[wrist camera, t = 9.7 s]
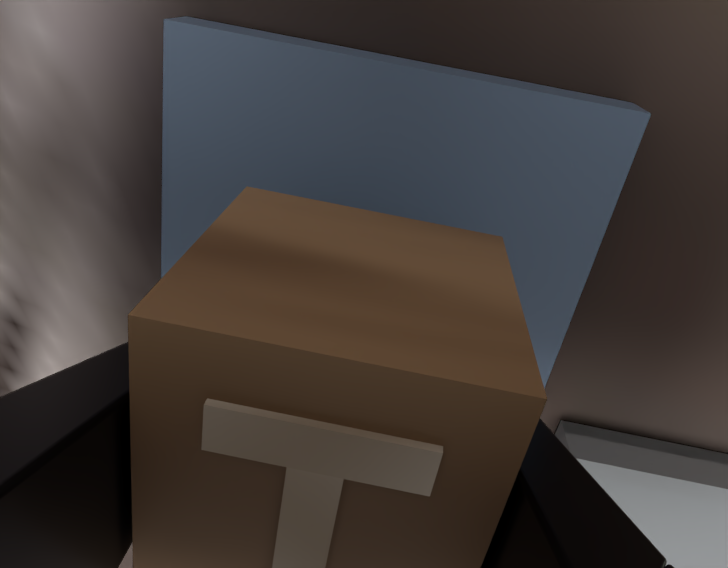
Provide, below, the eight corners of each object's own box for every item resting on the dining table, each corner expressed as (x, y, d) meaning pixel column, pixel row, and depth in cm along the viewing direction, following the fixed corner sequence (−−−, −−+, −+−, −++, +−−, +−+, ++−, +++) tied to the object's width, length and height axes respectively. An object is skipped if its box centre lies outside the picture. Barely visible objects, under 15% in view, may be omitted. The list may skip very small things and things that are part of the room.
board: (506, 443, 14) (511, 475, 13) (176, 377, 14) (159, 403, 13) (632, 102, 10) (650, 113, 9) (186, 16, 10) (163, 19, 10)
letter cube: (442, 434, 11) (448, 660, 7) (230, 390, 11) (129, 593, 7) (502, 236, 9) (548, 406, 5) (246, 185, 9) (122, 319, 5)
